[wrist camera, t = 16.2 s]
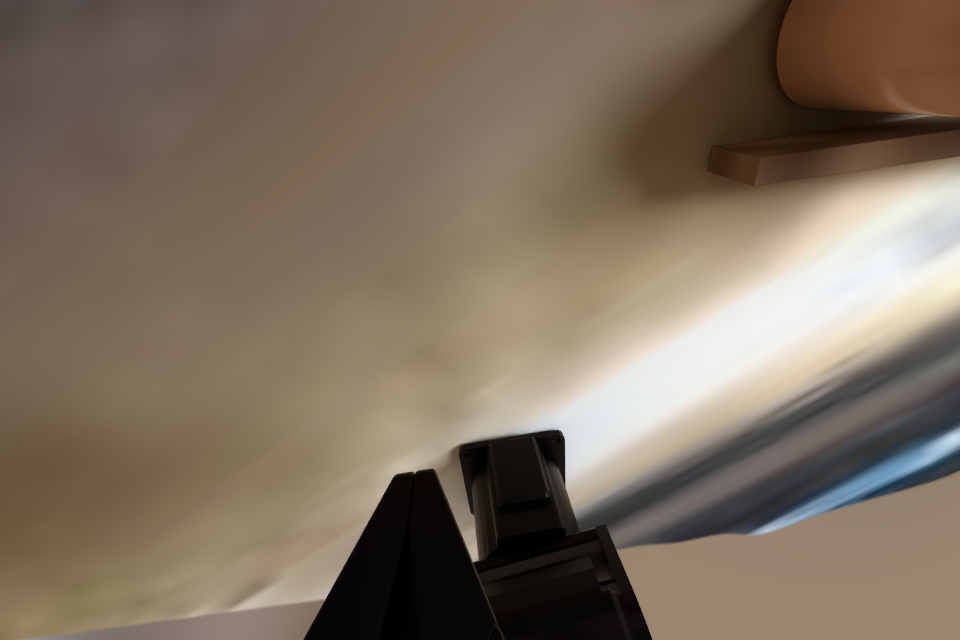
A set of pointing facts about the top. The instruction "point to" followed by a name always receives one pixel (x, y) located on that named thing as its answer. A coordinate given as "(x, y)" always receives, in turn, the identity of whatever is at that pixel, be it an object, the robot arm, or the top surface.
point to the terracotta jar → (872, 55)
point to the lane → (838, 150)
